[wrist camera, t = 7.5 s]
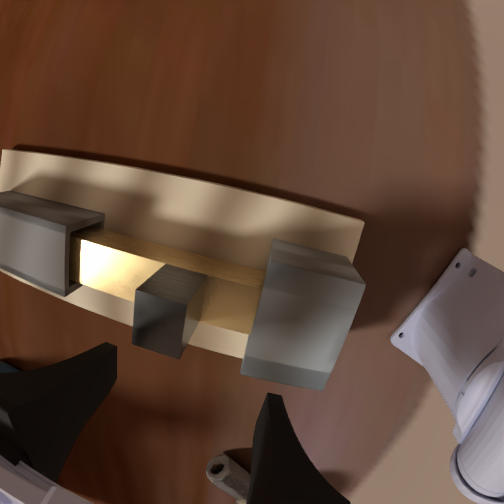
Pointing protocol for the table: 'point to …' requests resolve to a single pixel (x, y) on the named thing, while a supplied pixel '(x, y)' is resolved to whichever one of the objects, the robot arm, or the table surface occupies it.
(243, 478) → the pipe
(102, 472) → the table surface
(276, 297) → the grey blocks on plank
